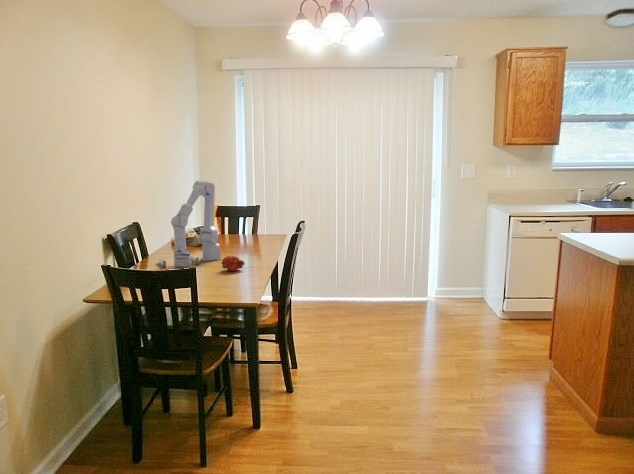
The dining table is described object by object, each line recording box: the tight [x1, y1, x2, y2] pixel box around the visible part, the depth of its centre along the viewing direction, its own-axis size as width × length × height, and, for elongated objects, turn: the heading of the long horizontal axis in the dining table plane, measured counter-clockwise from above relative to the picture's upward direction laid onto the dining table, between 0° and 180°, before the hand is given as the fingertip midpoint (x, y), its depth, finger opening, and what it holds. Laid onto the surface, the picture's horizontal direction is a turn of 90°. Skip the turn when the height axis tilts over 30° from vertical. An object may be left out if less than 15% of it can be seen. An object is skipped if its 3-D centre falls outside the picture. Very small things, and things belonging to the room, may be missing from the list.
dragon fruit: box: [221, 255, 245, 272], centre depth 256 cm, size 8×8×12 cm
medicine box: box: [173, 249, 191, 270], centre depth 260 cm, size 8×4×9 cm, turn 107°
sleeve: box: [157, 255, 200, 269], centre depth 270 cm, size 19×15×4 cm
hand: (181, 264), depth 264 cm, fingers closed, pressing on medicine box
